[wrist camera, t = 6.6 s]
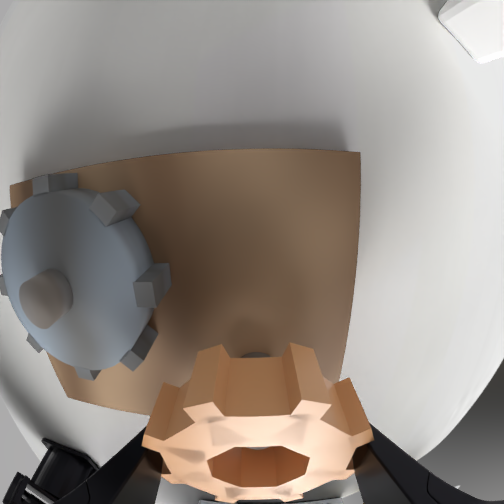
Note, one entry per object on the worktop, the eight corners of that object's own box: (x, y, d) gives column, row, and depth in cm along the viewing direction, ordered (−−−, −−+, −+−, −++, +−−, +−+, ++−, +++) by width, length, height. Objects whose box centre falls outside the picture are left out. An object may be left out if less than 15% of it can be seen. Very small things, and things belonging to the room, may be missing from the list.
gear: (182, 457, 9) (174, 497, 7) (144, 340, 8) (114, 391, 5) (333, 453, 9) (343, 493, 7) (366, 335, 8) (398, 384, 5)
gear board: (75, 386, 14) (39, 439, 8) (24, 183, 10) (-52, 196, 5) (326, 401, 14) (348, 476, 8) (349, 154, 10) (425, 141, 5)
